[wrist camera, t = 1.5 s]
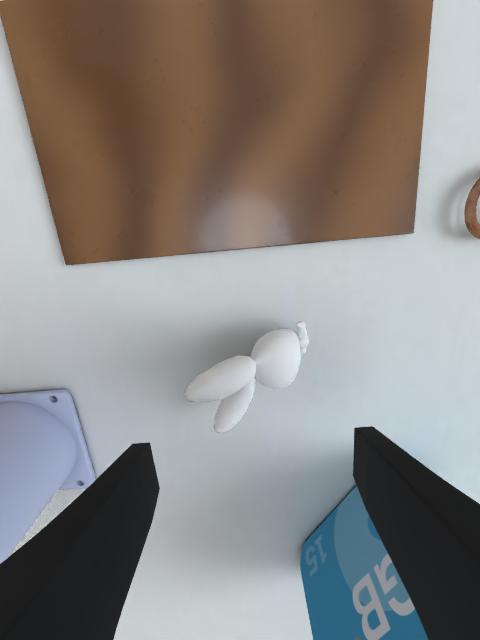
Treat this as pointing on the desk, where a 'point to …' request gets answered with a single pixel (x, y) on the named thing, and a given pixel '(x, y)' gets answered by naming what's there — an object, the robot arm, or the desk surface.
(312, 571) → the data package
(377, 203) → the brown wooden board
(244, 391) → the rabbit figurine
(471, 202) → the key
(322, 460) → the desk surface
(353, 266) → the desk surface
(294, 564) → the desk surface
